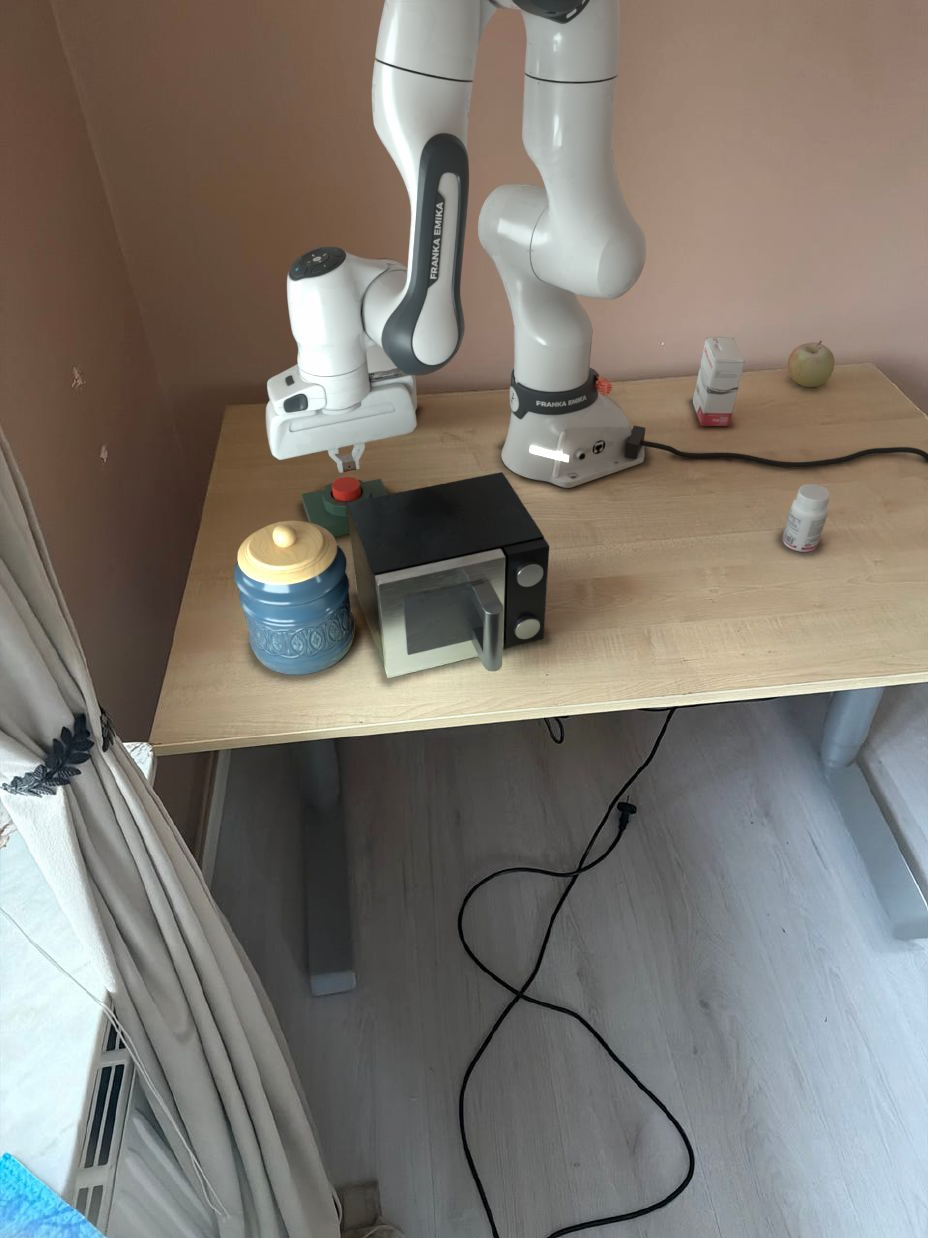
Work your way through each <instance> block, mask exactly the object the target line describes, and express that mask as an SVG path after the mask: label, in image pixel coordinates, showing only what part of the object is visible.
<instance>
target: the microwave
mask: <svg viewBox="0 0 928 1238" xmlns="http://www.w3.org/2000/svg"><path fill="white" fill-rule="evenodd" d="M346 506H347V514H348V522H349V530H350V534H349V537H350V546H351V553H352V554H351V555H352V562H353V570H354V576H355V586H356V593H357V598H358V600H359V605H360V607H361V609H362V612H363V615H364V617H365V620H366V622H367V625H368V627H369V631H370V633H371V637H372V640H373V643H374V644H375V647H376V650H377V653H378V655H379V658H380V661H381V664H382V666H383V668H384V658H383V649H382V640H381V630H380V621H379V611H378V602H377V592H376V583H375V576H376V575H380V574H385V573H390V572H394V571H399V570H403V569H408V568H413V567H417V566H422V565H427V564H431V563H436V562H440V561H445V560H450V559H454V558H459V557H464V556H468V555H473V554H477V553H482V552H487V551H491V550H496V549H501V550H502V552H503V554H504V555H505V593H504V636H503V646H504V647H505V649H506V648H511V647H515V646H518V645H519V646H520V645H523V644H527V643H531V642H535V641H539V640H540V641H541V640H543V639H544V636H545V635H544V634H545V623H546V621H545V620H546V607H547V606H546V605H547V589H548V574H549V573H548V572H549V559H550V545H549V543H548V541H547V539H546V538H545V536H544V534H543V533H542V531H541V529H540V527H539V526H538V525H537V523H536V521H535V520H534V519H533V517H532V515H531V513H530V512H529V511H528V509H527V507H526V506H525V504H524V502H523V501H522V499H521V498H520V496H519V495H518V494H517V492H516V490H515V489H514V488H513V486H512V485H511V483H510V481H509V479H508V478H507V476H506V475H505V474H504V472H503V471H500V472H494V473H490V474H485V475H480V476H475V477H469V478H465V479H459V480H454V481H449V482H444V483H439V484H434V485H429V486H424V487H418V488H413V489H408V490H404V491H398V492H394V493H393V492H392V493H388V495H383V496H377V497H372V498H367V499H362V500H357V501H352V502H347V503H346Z"/></svg>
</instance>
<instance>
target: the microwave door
mask: <svg viewBox="0 0 928 1238" xmlns="http://www.w3.org/2000/svg"><path fill="white" fill-rule="evenodd" d="M375 583H376V592H377V602H378V611H379V621H380V630H381V640H382V649H383V658H384V667H383V668H384V671H385V674H386V677H387V679H391V678H394V677H399V676H403V675H407V674H412V673H416V672H420V671H424V670H427V669H433V668H436V667H439V666H445V665H448V664H452V663H457V662H462V661H465V660H469V659H474V658H476V657H478V658H479V660H480V662H481V664H482V666H483V668H484V669H485V670H486V671H488V672H496V671H499V670H500V669H501V668H502V667H503V651H504V643H503V636H504V593H505V555H504V554H503V552H502V550H501V549H496V550H491V551H487V552H482V553H477V554H473V555H468V556H464V557H459V558H454V559H450V560H445V561H440V562H436V563H431V564H427V565H422V566H417V567H413V568H408V569H403V570H399V571H394V572H390V573H385V574H380V575H376V576H375Z"/></svg>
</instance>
